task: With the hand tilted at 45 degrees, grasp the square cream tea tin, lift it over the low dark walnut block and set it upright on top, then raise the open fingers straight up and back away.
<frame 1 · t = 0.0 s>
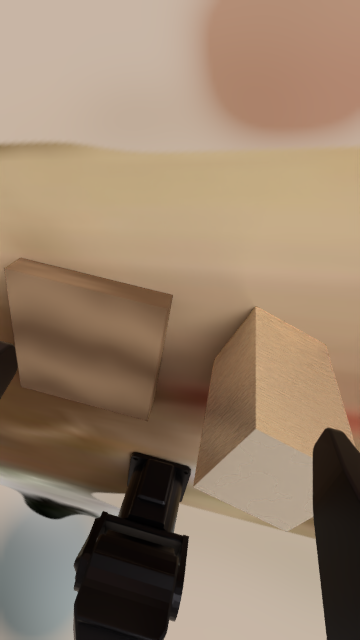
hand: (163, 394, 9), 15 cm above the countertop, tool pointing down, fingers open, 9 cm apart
walnut block: (93, 338, 28), on the countertop
cream tea tin: (267, 352, 26), on the countertop
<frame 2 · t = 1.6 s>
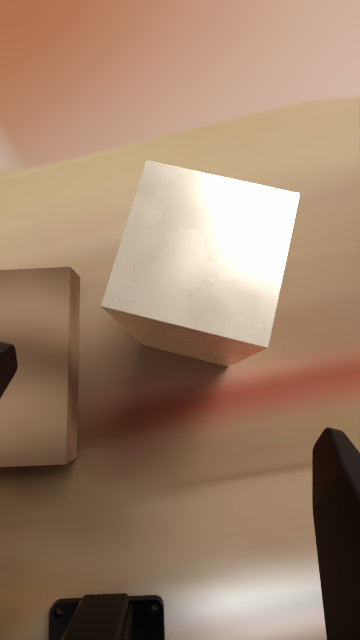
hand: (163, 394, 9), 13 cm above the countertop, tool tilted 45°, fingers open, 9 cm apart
cream tea tin: (195, 313, 23), on the countertop
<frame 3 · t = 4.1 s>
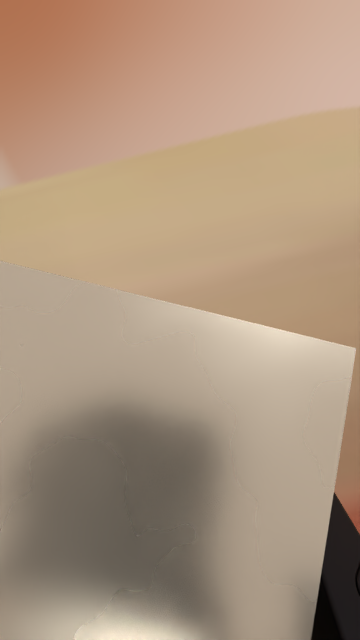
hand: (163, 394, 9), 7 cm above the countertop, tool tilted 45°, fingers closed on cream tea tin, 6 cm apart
cream tea tin: (164, 421, 16), on the countertop, touching gripper
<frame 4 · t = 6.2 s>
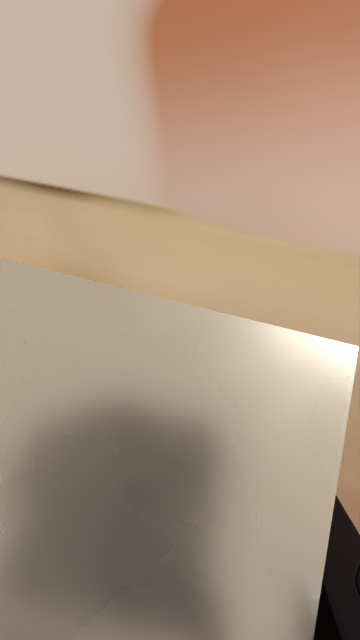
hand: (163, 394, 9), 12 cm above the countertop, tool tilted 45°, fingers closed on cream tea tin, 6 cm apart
cream tea tin: (165, 420, 16), point 6 cm above the countertop, touching gripper
when the fingers open (9 cm above the countertop, at t = 8.1 s): cream tea tin stays where it is, resting on walnut block.
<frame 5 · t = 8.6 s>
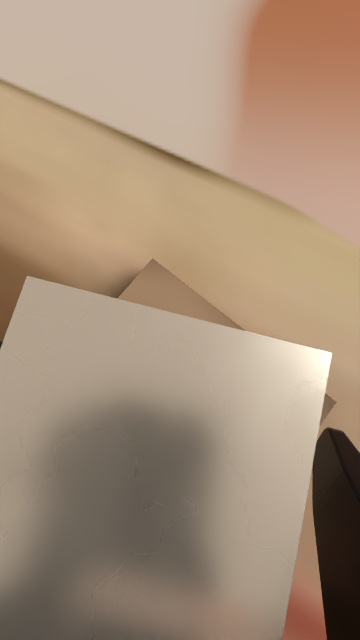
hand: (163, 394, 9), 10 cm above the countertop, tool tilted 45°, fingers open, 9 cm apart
walnut block: (168, 415, 19), on the countertop
cream tea tin: (166, 418, 17), point 2 cm above the countertop, touching walnut block
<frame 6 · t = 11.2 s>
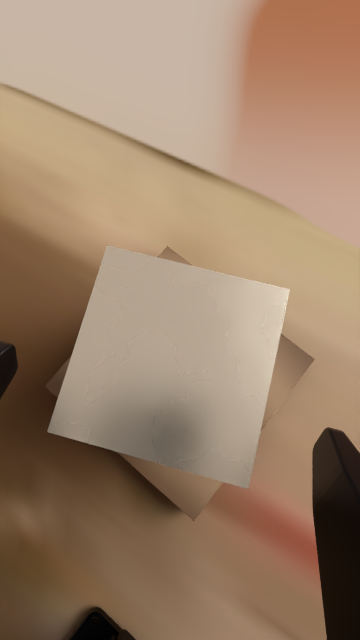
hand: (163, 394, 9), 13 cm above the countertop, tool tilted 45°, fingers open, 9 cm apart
walnut block: (180, 373, 23), on the countertop
cream tea tin: (179, 372, 21), point 2 cm above the countertop, touching walnut block
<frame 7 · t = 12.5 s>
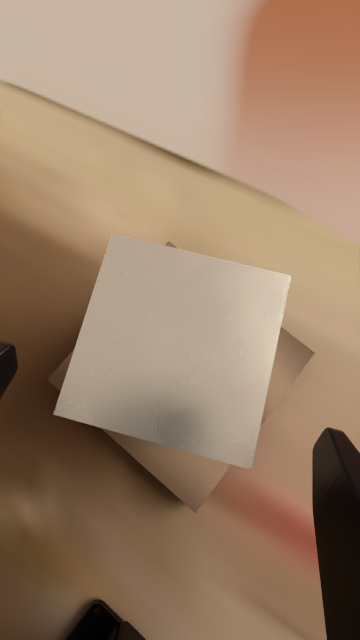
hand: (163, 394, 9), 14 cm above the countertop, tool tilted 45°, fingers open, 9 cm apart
walnut block: (181, 368, 23), on the countertop
cream tea tin: (181, 365, 21), point 2 cm above the countertop, touching walnut block
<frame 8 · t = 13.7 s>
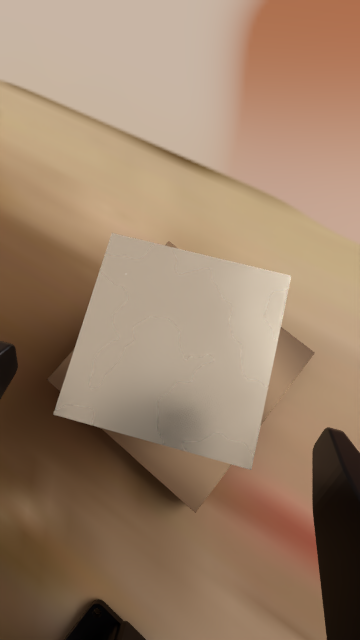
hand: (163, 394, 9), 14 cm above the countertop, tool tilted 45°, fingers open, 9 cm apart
walnut block: (181, 368, 23), on the countertop
cream tea tin: (181, 365, 21), point 2 cm above the countertop, touching walnut block
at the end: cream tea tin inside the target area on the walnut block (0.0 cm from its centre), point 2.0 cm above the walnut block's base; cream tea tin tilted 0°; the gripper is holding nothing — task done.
